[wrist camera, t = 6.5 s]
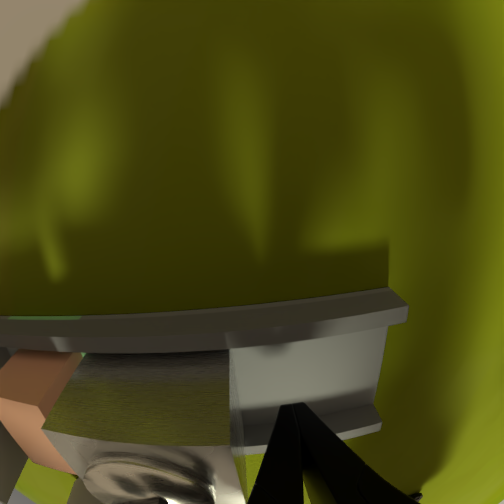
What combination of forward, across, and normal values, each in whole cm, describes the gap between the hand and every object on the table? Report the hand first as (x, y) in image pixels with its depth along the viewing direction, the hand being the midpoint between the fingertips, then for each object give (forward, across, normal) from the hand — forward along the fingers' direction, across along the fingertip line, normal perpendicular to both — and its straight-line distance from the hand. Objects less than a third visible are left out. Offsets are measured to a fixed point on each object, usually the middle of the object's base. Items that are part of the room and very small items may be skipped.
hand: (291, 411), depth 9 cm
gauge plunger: (+2, +4, 0) cm, 5 cm away
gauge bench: (+2, +5, 0) cm, 5 cm away
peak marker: (+2, +9, 0) cm, 9 cm away
